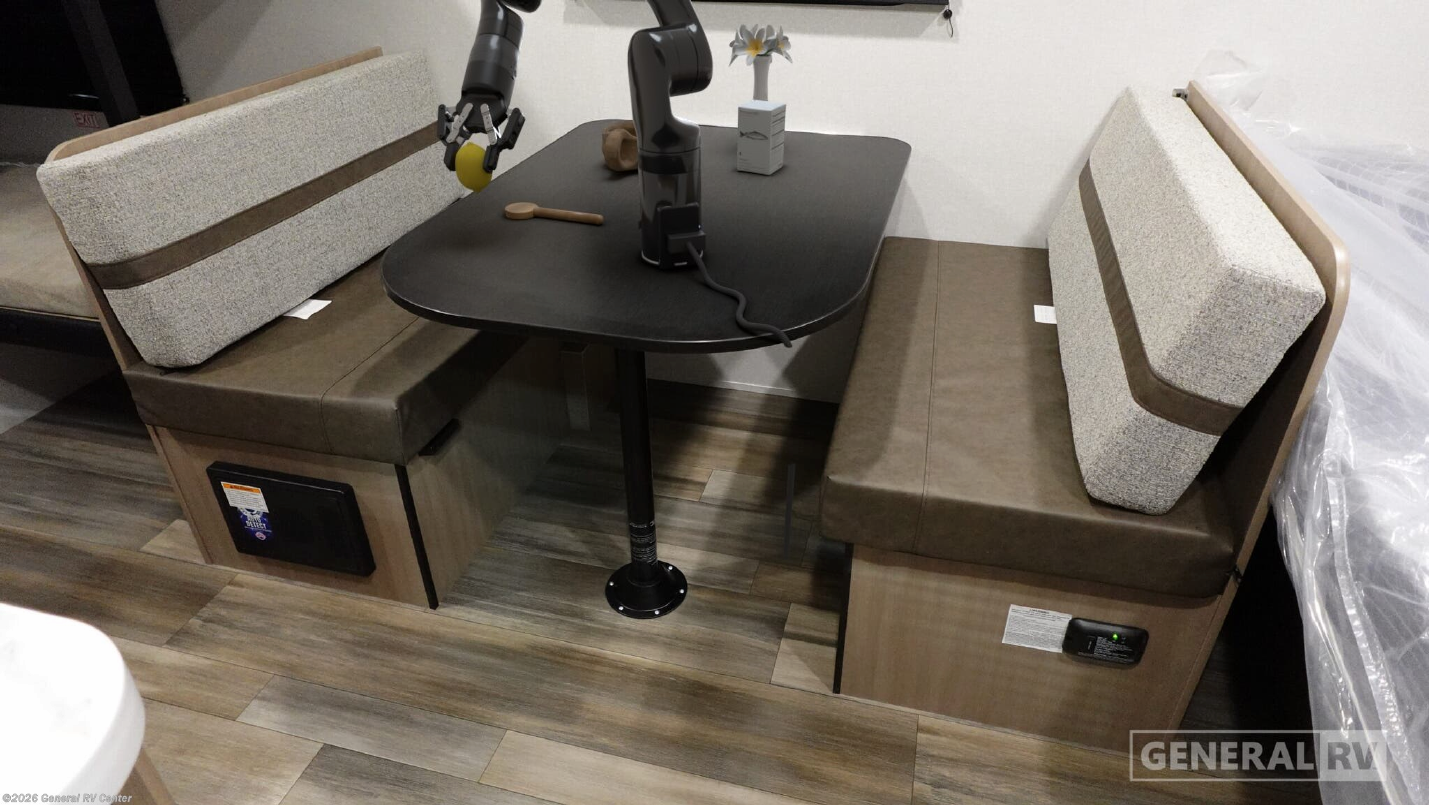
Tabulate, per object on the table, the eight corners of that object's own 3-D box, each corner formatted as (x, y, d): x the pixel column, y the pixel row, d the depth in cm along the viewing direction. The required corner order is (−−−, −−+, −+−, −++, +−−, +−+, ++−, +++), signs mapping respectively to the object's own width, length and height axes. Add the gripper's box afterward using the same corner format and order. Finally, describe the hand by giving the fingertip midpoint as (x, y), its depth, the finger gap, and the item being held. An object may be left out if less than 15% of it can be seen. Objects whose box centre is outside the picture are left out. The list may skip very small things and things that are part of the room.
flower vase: (778, 135, 199) (782, 16, 186) (795, 158, 183) (800, 29, 171) (721, 137, 198) (721, 17, 185) (733, 160, 182) (734, 30, 169)
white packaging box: (735, 171, 176) (736, 105, 169) (751, 161, 181) (752, 98, 175) (769, 176, 173) (771, 109, 166) (784, 166, 178) (787, 102, 172)
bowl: (666, 175, 168) (650, 123, 164) (599, 192, 172) (581, 142, 167) (681, 149, 183) (667, 101, 179) (619, 165, 187) (603, 119, 182)
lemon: (491, 198, 136) (483, 146, 131) (455, 199, 136) (446, 146, 132) (499, 187, 140) (492, 137, 136) (465, 188, 140) (456, 137, 136)
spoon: (610, 219, 151) (610, 210, 151) (595, 230, 147) (595, 220, 146) (516, 207, 157) (515, 198, 156) (499, 217, 153) (498, 208, 152)
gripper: (438, 56, 136) (413, 154, 132) (525, 59, 133) (502, 159, 129) (459, 85, 143) (436, 179, 139) (542, 88, 140) (521, 184, 136)
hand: (468, 169), depth 134 cm, fingers closed on lemon, 5 cm apart
